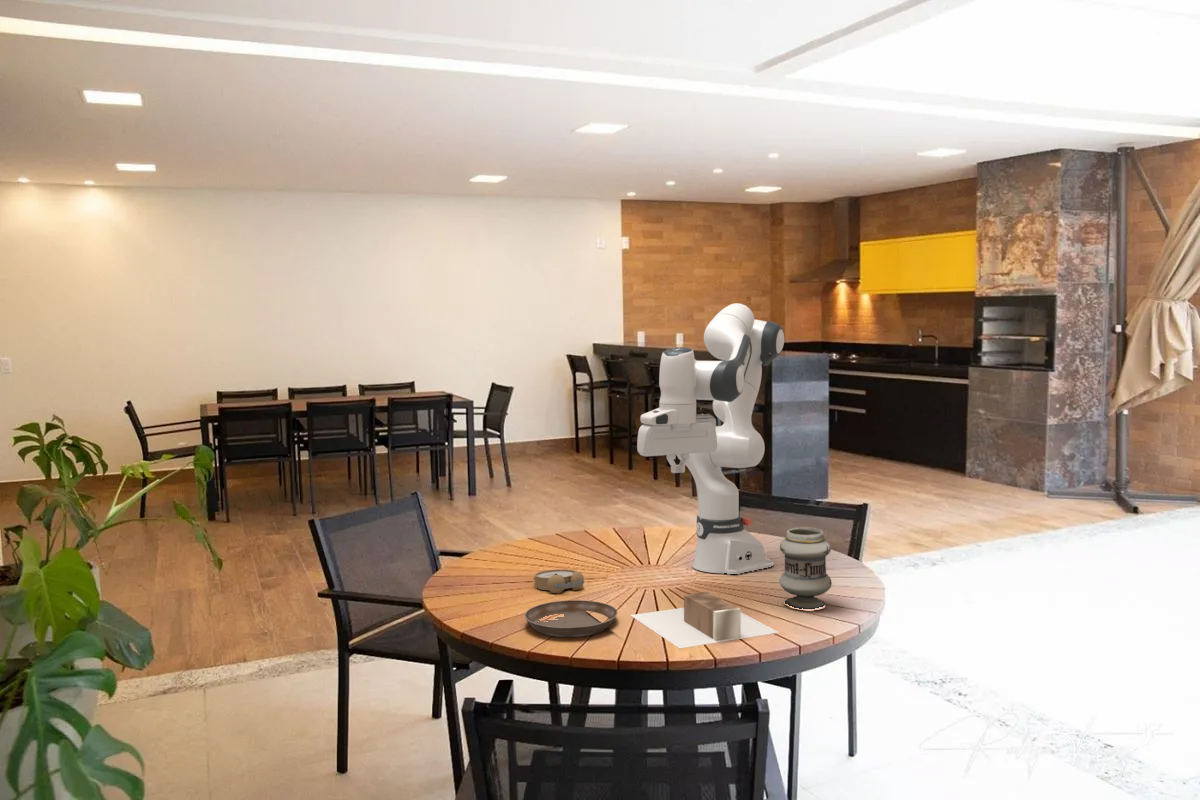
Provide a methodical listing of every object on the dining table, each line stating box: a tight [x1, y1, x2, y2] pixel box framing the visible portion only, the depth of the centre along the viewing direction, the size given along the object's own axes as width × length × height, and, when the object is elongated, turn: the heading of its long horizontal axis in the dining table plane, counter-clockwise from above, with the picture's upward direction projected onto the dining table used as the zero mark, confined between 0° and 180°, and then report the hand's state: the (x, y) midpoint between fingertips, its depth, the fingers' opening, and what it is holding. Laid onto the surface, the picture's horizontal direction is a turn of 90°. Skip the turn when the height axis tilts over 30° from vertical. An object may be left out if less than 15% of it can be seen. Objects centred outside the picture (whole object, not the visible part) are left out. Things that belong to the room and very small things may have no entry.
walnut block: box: [683, 591, 742, 641], centre depth 200 cm, size 6×6×14 cm
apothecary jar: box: [779, 527, 833, 609], centre depth 219 cm, size 12×12×18 cm
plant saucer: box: [524, 599, 618, 638], centre depth 206 cm, size 21×21×3 cm
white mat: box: [629, 607, 780, 650], centre depth 204 cm, size 24×24×1 cm
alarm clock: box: [533, 568, 585, 594], centre depth 236 cm, size 11×5×15 cm
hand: (677, 472), depth 223 cm, fingers closed
